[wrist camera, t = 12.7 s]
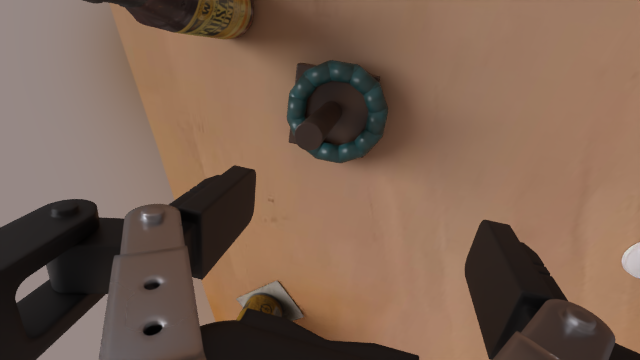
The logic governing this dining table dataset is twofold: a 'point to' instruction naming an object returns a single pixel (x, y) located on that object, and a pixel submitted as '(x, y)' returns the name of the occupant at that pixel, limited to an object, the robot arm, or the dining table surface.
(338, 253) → the dining table surface
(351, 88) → the peg stand
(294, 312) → the condiment
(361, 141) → the ring
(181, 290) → the robot arm
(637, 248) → the chess piece
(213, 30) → the sauce bottle
